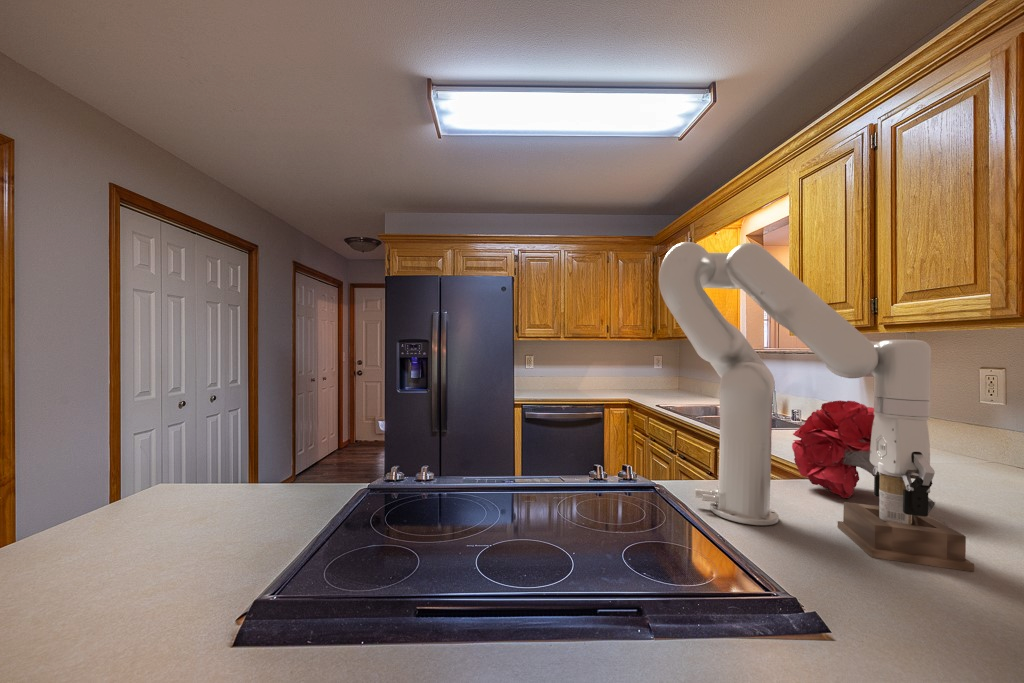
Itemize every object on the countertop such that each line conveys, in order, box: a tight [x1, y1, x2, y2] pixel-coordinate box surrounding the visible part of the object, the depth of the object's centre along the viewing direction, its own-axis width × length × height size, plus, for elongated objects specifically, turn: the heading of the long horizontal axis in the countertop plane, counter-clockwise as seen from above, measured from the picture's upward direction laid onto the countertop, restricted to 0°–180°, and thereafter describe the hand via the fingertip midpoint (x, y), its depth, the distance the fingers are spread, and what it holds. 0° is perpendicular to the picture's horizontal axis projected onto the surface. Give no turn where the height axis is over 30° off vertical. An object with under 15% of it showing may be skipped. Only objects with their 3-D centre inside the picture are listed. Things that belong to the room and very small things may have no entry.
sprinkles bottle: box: [878, 462, 912, 525], centre depth 79 cm, size 5×5×13 cm
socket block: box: [837, 501, 975, 573], centre depth 79 cm, size 14×14×5 cm
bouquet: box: [791, 400, 936, 513], centre depth 106 cm, size 22×24×30 cm
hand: (899, 505), depth 79 cm, fingers open, 9 cm apart
